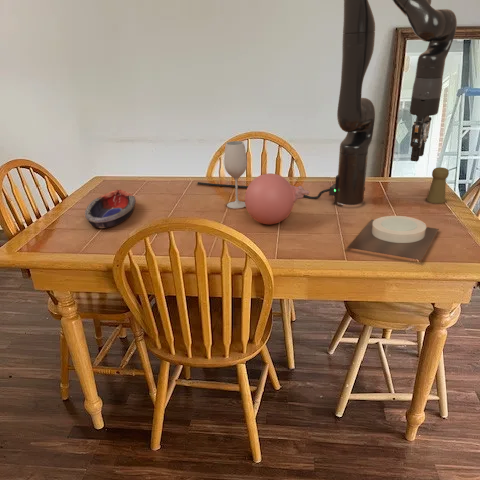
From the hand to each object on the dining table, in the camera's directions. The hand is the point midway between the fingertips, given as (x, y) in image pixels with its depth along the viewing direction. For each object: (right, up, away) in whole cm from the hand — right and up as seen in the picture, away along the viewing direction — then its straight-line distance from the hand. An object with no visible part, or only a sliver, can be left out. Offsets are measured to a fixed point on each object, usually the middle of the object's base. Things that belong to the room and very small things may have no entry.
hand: (416, 158), depth 145 cm
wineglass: (-52, -7, +30) cm, 61 cm away
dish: (-95, -12, +25) cm, 99 cm away
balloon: (-40, -16, +14) cm, 45 cm away
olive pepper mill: (+16, -6, +27) cm, 32 cm away
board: (-7, -24, -2) cm, 26 cm away
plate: (-5, -22, 0) cm, 22 cm away
